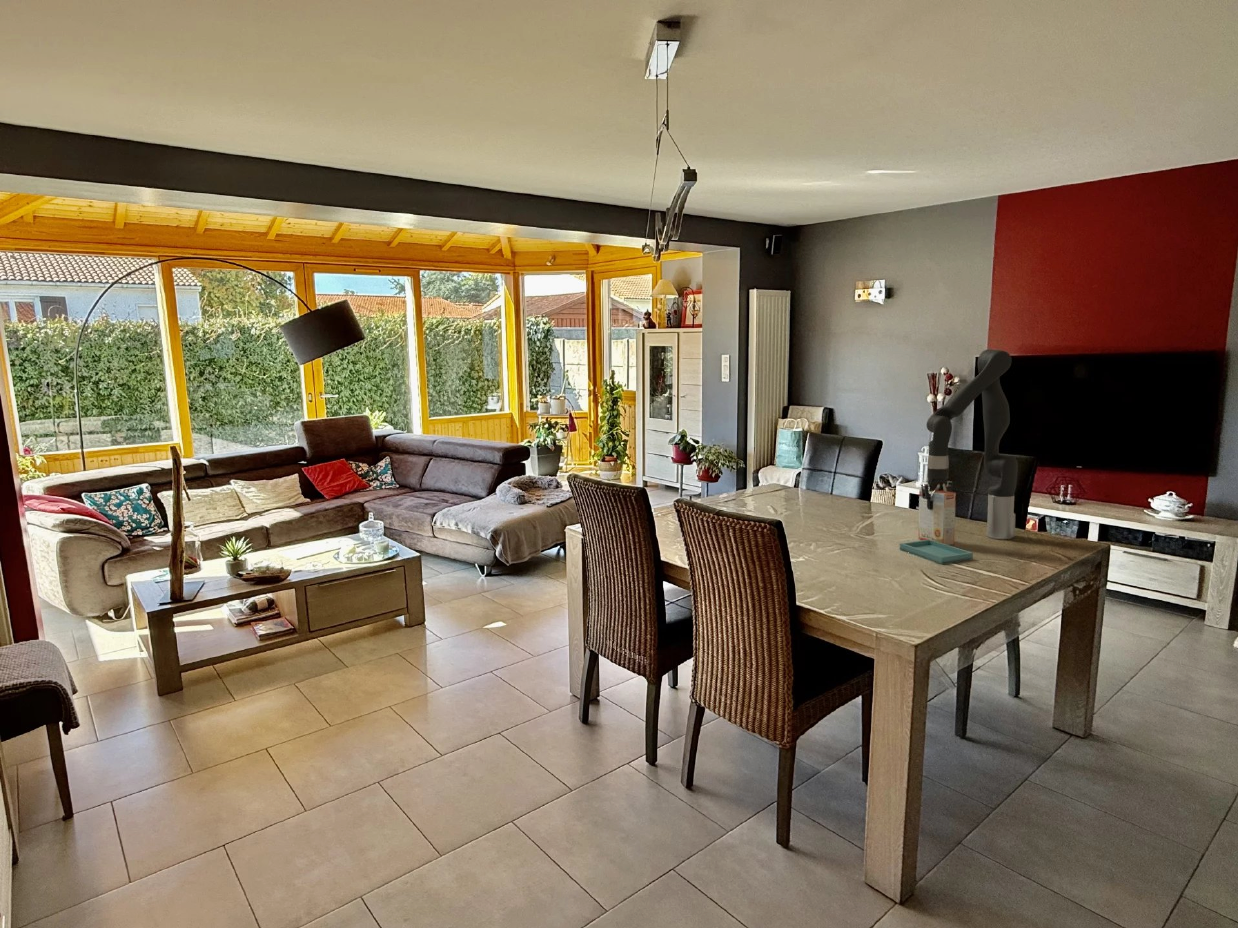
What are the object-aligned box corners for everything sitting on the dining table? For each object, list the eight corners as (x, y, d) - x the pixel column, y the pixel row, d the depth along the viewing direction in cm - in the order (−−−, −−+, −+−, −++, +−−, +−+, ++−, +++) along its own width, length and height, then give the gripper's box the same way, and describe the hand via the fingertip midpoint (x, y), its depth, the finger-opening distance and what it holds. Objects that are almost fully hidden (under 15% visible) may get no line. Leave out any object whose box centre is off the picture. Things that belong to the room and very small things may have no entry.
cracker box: (955, 545, 286) (956, 492, 283) (942, 546, 284) (943, 493, 281) (929, 537, 299) (931, 486, 296) (917, 538, 298) (918, 488, 294)
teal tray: (929, 545, 287) (929, 539, 287) (972, 559, 266) (972, 552, 266) (899, 549, 283) (899, 543, 282) (941, 564, 262) (941, 557, 262)
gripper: (945, 463, 293) (944, 505, 296) (916, 466, 289) (915, 508, 291) (959, 466, 286) (958, 508, 288) (929, 469, 282) (928, 512, 284)
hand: (936, 508), depth 290 cm, fingers closed on cracker box, 6 cm apart
